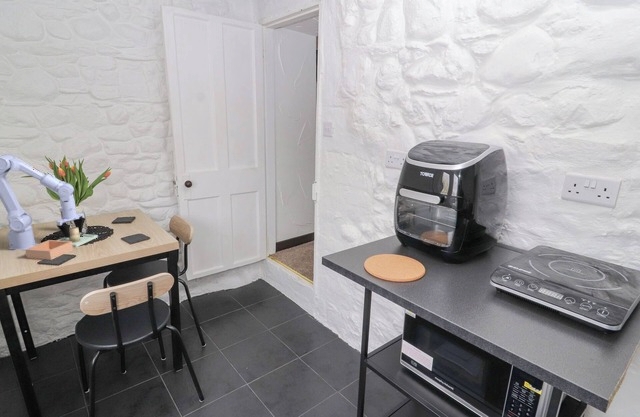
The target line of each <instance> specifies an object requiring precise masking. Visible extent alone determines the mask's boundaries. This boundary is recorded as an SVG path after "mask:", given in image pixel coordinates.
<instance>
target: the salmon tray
mask: <svg viewBox="0 0 640 417" xmlns="http://www.w3.org/2000/svg"><path fill="white" fill-rule="evenodd" d="M56 240H57V239H56ZM56 240H55V239H54V240H53V239H48V240H45V241H43V242H41V243H39V244H38V245H35V246H33V247H30V248H28V249H25V250H24V251H25V256H26V259H36V260H48V261H51V260H53V259H57V258H58V257H60V256H62V255H65V254H67V253H69V252H71V251H73V250H74V247H73V245H72V241H56Z"/></svg>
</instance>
